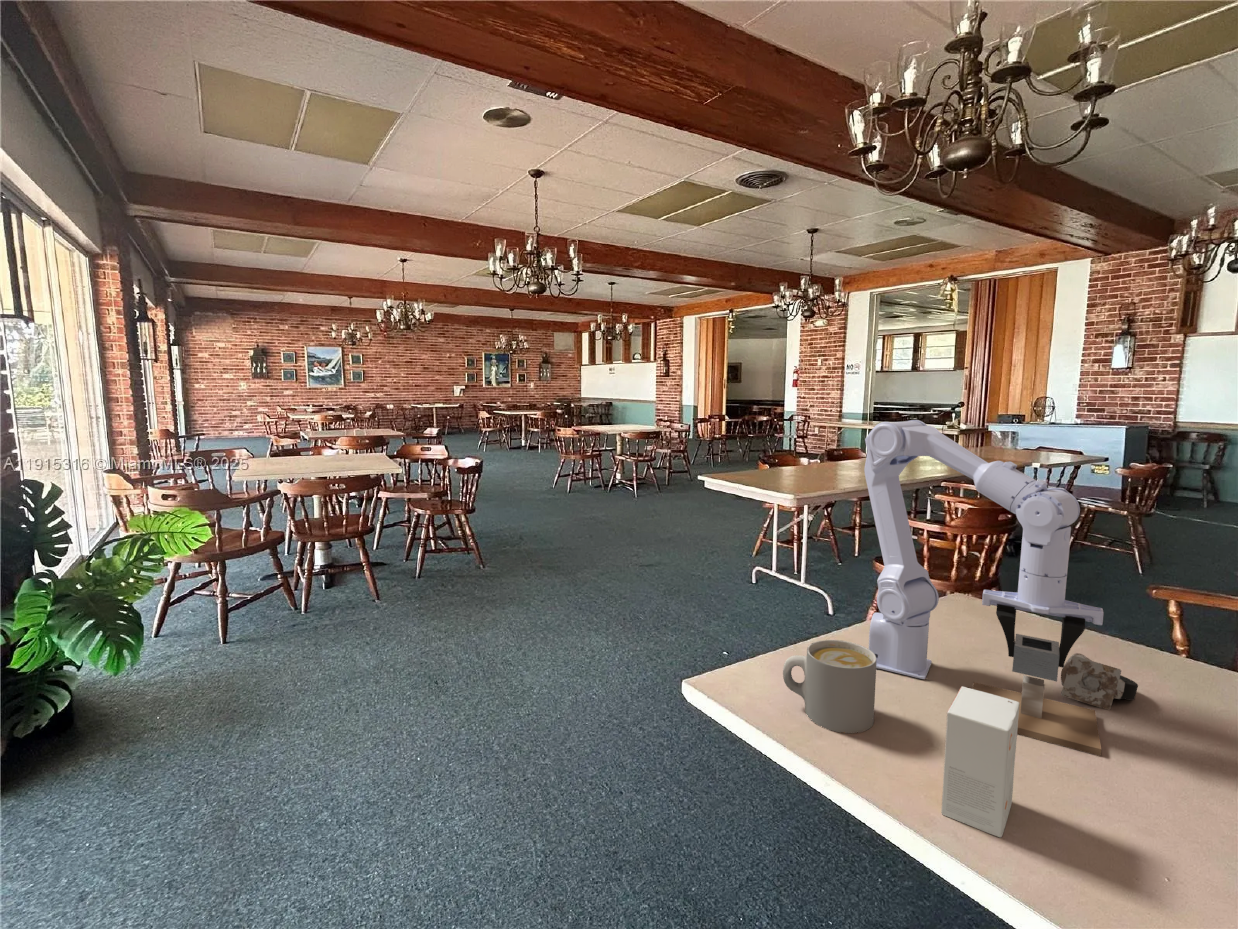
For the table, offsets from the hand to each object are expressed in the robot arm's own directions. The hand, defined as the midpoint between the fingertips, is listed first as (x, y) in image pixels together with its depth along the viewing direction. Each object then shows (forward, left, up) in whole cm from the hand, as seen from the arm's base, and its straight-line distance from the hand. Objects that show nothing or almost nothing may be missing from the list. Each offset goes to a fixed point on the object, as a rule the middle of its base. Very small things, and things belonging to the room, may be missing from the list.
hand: (1035, 659), depth 90 cm
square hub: (0, 0, -2) cm, 2 cm away
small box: (-5, -27, -10) cm, 29 cm away
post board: (0, 0, -9) cm, 9 cm away
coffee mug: (-26, -15, -10) cm, 32 cm away
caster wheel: (+8, +14, -10) cm, 19 cm away
